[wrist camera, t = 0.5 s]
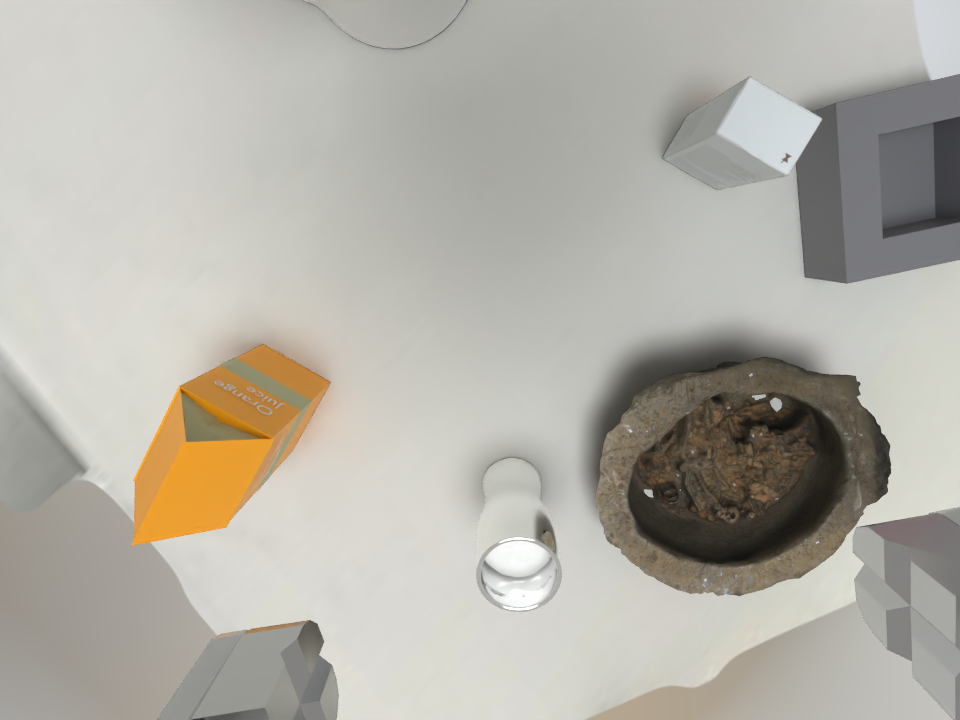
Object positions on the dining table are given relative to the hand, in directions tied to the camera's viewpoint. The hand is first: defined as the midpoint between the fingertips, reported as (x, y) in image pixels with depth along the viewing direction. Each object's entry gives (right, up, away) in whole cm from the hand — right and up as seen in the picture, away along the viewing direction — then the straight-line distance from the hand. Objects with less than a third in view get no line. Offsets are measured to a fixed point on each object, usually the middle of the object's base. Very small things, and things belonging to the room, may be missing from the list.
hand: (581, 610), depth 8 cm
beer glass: (+2, -9, +47) cm, 48 cm away
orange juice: (-22, 0, +46) cm, 51 cm away
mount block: (+34, +20, +39) cm, 56 cm away
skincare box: (+18, +22, +39) cm, 49 cm away
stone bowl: (+21, -6, +46) cm, 51 cm away
